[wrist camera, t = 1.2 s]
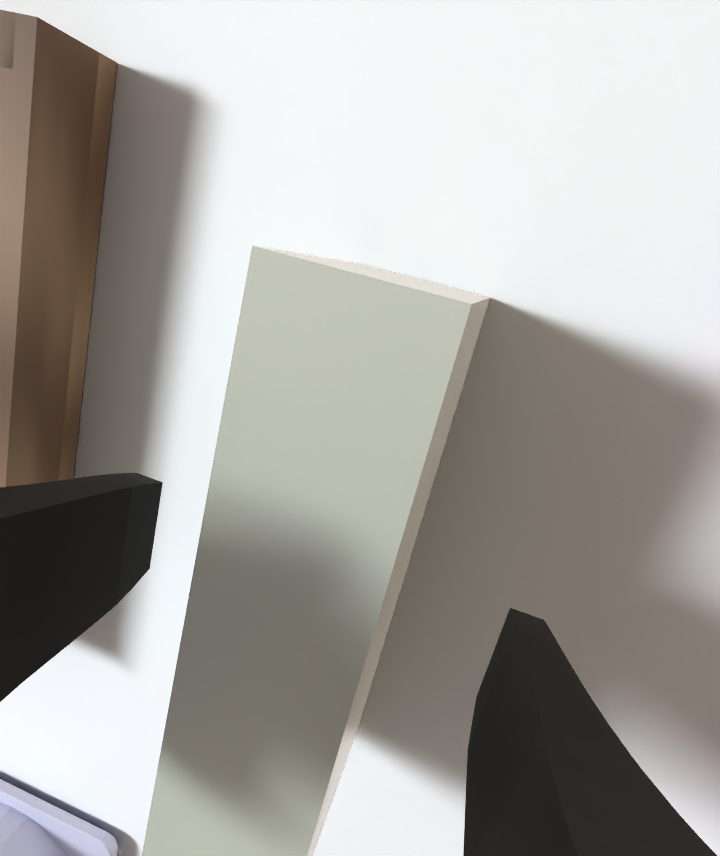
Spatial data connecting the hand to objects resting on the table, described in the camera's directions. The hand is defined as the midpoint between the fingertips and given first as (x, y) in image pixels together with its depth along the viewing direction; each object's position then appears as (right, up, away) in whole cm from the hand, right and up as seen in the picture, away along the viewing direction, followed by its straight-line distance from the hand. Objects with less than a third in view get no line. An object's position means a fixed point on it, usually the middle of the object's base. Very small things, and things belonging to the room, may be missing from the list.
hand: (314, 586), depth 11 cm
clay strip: (+1, +1, +4) cm, 4 cm away
